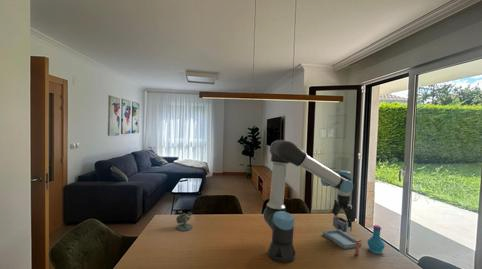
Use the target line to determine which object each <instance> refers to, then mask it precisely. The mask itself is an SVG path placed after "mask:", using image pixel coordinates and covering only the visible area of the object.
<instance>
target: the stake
mask: <svg viewBox="0 0 482 269" xmlns="http://www.w3.org/2000/svg"><path fill="white" fill-rule="evenodd" d="M355 242H356V247H355V249H354V253H355V254H354V255H355V256H359V253H360V247H359V242H361V243H362V239H356V240H355Z"/></svg>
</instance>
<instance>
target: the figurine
mask: <svg viewBox="0 0 482 269" xmlns="http://www.w3.org/2000/svg"><path fill="white" fill-rule="evenodd" d="M177 213H178V214H179V215H178V216H176V219H175V220H176V223H177V224H178V225H176V227H175V229H176V230H177V231H179V232H188V231H191V230H192V229H193V225H192V224H190V223H187V222H188V221H189V220H190V219H191V218H192V215H193V212H190V211H189V212H187V213H185V212H183V211H182V210H178V211H177Z"/></svg>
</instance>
